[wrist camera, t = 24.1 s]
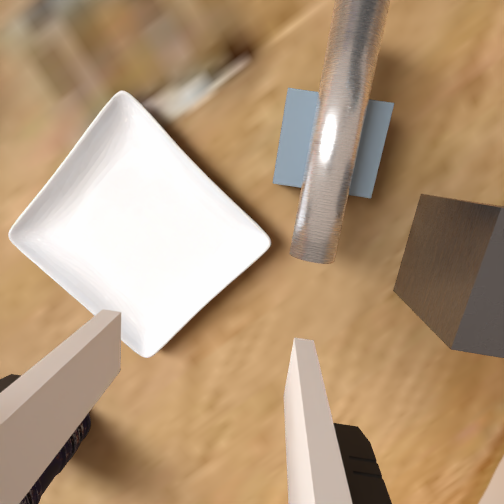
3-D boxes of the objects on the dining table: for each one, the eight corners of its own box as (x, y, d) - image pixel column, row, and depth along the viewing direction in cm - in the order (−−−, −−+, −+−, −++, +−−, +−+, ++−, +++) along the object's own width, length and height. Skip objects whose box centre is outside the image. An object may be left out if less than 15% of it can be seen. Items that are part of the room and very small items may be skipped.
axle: (330, 14, 26) (341, -16, 22) (378, 21, 26) (398, -8, 22) (288, 248, 30) (290, 258, 26) (329, 255, 30) (338, 266, 26)
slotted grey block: (420, 194, 33) (501, 207, 21) (517, 208, 32) (652, 230, 21) (393, 290, 36) (450, 349, 24) (481, 305, 35) (583, 371, 24)
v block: (285, 100, 31) (288, 87, 27) (375, 113, 31) (394, 103, 26) (272, 181, 33) (272, 183, 29) (356, 194, 33) (371, 198, 28)
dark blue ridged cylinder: (66, 376, 42) (-44, 485, 27) (105, 432, 44) (21, 562, 29) (8, 400, 43) (-123, 515, 29) (48, 453, 45) (-56, 585, 31)
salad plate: (23, 231, 37) (-1, 238, 34) (134, 91, 32) (119, 82, 29) (156, 348, 40) (145, 364, 37) (276, 235, 35) (276, 242, 32)
